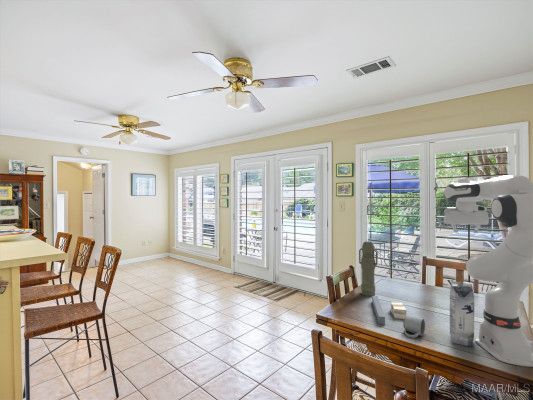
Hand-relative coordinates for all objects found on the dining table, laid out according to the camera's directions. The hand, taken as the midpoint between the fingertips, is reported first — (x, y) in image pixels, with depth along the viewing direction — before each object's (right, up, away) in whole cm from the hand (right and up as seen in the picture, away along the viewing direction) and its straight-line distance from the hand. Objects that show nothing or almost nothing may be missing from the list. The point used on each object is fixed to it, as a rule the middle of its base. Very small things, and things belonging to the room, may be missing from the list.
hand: (465, 232), depth 150 cm
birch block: (-35, -46, +3) cm, 58 cm away
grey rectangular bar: (-46, -46, +6) cm, 65 cm away
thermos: (-40, -46, +34) cm, 70 cm away
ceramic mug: (-38, -47, -18) cm, 63 cm away
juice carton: (-20, -46, -25) cm, 56 cm away
